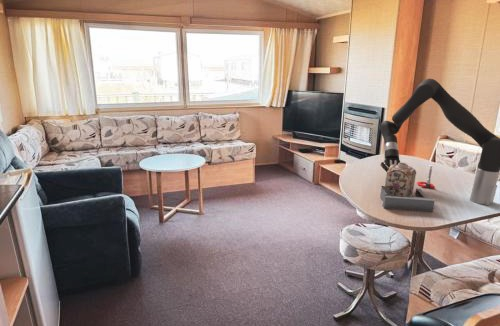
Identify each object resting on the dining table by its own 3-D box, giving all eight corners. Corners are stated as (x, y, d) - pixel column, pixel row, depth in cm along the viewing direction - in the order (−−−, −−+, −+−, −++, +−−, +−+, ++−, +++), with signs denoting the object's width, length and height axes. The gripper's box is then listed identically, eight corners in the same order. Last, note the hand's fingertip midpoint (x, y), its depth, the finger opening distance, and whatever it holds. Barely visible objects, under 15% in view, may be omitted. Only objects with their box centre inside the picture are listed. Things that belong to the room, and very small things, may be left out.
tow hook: (414, 182, 197) (420, 187, 188) (418, 161, 194) (423, 165, 185) (429, 184, 196) (436, 189, 187) (433, 162, 193) (440, 166, 184)
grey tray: (377, 196, 174) (378, 184, 172) (421, 199, 171) (423, 187, 169) (384, 208, 160) (385, 196, 158) (432, 212, 157) (435, 199, 155)
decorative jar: (412, 196, 176) (418, 163, 171) (406, 202, 167) (412, 168, 162) (389, 190, 183) (394, 158, 178) (382, 196, 175) (387, 163, 169)
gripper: (401, 155, 191) (403, 182, 183) (377, 154, 193) (378, 180, 185) (405, 149, 185) (408, 177, 177) (381, 147, 187) (382, 175, 179)
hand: (393, 178), depth 181 cm, fingers closed
